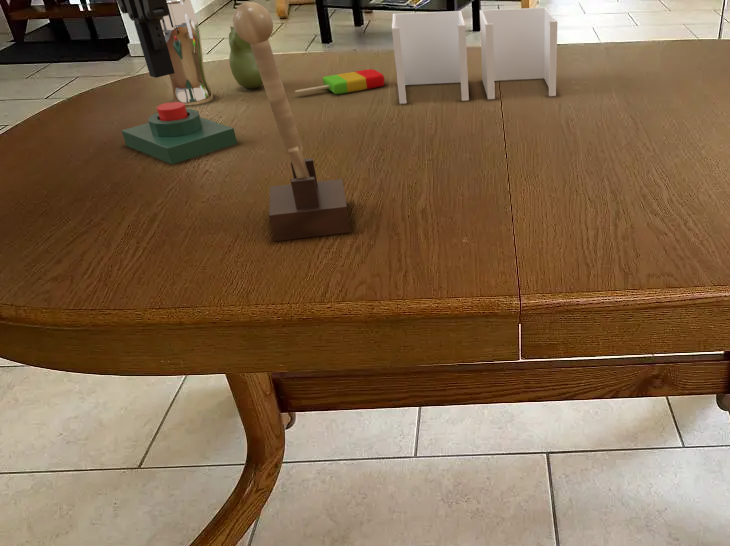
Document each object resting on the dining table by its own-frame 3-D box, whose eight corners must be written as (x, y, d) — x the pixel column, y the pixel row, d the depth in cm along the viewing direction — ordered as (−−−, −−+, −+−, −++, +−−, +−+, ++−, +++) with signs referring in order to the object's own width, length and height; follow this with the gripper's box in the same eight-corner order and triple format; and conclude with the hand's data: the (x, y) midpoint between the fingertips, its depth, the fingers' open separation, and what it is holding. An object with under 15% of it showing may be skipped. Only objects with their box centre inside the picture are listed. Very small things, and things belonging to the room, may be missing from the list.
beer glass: (194, 92, 124) (167, -8, 115) (225, 96, 122) (200, -5, 113) (162, 103, 119) (131, 0, 110) (194, 108, 117) (165, 3, 108)
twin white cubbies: (545, 77, 128) (546, 7, 121) (555, 95, 119) (557, 21, 112) (400, 84, 126) (392, 13, 119) (399, 103, 117) (391, 28, 110)
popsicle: (387, 86, 125) (386, 74, 124) (301, 101, 119) (299, 89, 118) (374, 79, 129) (373, 67, 128) (290, 93, 123) (288, 81, 122)
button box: (126, 146, 104) (116, 117, 101) (190, 127, 110) (182, 99, 107) (172, 164, 97) (163, 134, 95) (237, 143, 103) (230, 114, 101)
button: (155, 119, 101) (151, 106, 100) (179, 113, 103) (175, 100, 102) (169, 124, 99) (165, 111, 98) (193, 117, 101) (189, 104, 100)
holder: (274, 241, 79) (262, 187, 75) (275, 211, 85) (264, 160, 81) (350, 232, 80) (342, 179, 76) (346, 203, 86) (338, 152, 83)
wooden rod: (225, 10, 67) (265, 2, 67) (228, 2, 70) (266, -5, 70) (289, 194, 78) (323, 187, 79) (289, 182, 81) (321, 174, 81)
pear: (259, 81, 129) (246, 18, 123) (275, 87, 126) (263, 23, 120) (230, 88, 126) (215, 24, 120) (246, 94, 123) (231, 29, 117)
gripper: (159, -146, 83) (215, 75, 97) (102, -146, 89) (162, 61, 104) (94, -143, 78) (162, 89, 92) (39, -143, 85) (110, 73, 99)
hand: (162, 74), depth 98 cm, fingers closed
